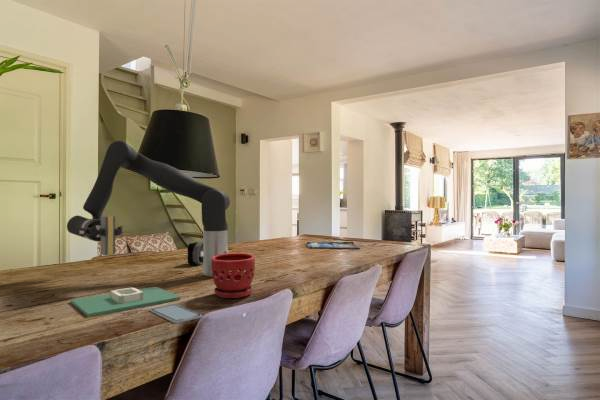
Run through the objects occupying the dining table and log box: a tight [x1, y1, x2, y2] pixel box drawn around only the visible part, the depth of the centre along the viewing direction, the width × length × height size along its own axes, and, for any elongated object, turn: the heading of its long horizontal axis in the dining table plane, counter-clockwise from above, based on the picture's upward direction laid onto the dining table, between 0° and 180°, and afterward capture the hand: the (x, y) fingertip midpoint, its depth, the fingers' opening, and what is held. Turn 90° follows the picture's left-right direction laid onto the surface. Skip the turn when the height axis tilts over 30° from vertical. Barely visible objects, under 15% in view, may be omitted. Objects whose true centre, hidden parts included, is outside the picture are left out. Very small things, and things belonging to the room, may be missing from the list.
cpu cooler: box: [186, 241, 203, 266], centre depth 168 cm, size 10×6×10 cm, turn 168°
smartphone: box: [149, 303, 203, 324], centre depth 94 cm, size 7×1×15 cm
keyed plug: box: [100, 215, 116, 256], centre depth 118 cm, size 3×5×12 cm, turn 43°
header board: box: [70, 286, 181, 318], centre depth 106 cm, size 24×18×3 cm
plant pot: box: [211, 252, 256, 299], centre depth 113 cm, size 13×13×12 cm
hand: (110, 232), depth 116 cm, fingers closed on keyed plug, 3 cm apart
